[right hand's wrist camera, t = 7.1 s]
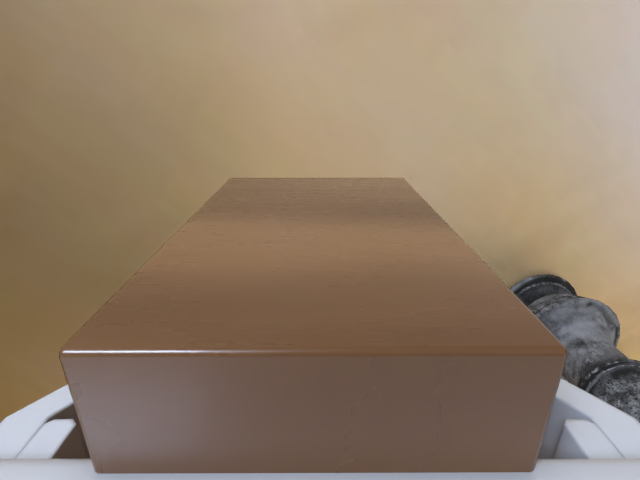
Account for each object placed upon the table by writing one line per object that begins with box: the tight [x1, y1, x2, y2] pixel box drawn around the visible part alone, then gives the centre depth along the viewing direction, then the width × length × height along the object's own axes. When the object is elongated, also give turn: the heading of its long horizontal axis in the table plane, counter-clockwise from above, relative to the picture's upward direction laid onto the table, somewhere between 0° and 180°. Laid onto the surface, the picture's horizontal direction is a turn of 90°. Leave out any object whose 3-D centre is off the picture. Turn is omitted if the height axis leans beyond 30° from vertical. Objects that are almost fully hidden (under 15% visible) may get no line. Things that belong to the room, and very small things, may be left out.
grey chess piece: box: [510, 275, 640, 423], centre depth 20 cm, size 6×6×12 cm
